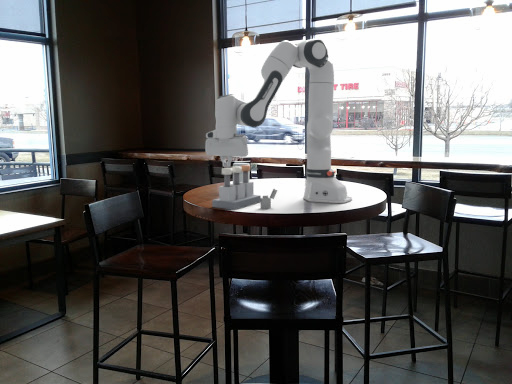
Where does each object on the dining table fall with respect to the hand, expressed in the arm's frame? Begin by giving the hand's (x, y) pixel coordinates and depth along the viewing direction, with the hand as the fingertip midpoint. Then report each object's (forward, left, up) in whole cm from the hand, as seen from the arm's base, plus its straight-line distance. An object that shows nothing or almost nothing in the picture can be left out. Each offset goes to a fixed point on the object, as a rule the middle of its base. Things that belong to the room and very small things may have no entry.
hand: (226, 166), depth 188 cm
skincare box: (+20, -39, -18) cm, 47 cm away
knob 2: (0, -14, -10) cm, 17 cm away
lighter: (-16, -8, -18) cm, 25 cm away
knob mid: (0, -7, -10) cm, 12 cm away
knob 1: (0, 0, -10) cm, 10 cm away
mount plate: (0, -7, -18) cm, 19 cm away
